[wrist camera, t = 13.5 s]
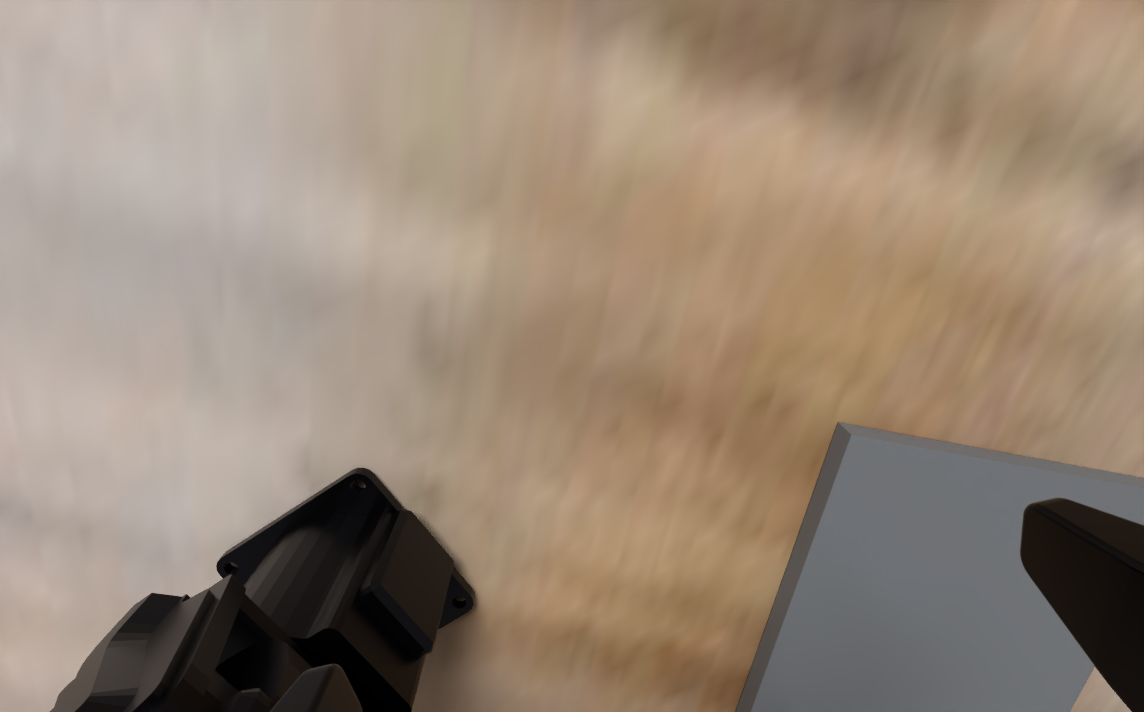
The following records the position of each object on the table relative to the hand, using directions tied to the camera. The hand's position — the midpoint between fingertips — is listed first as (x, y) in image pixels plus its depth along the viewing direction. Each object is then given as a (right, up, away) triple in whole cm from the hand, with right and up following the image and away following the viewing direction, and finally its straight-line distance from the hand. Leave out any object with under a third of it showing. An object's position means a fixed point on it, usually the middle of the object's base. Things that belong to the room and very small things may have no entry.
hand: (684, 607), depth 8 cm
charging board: (+11, -10, +17) cm, 23 cm away
